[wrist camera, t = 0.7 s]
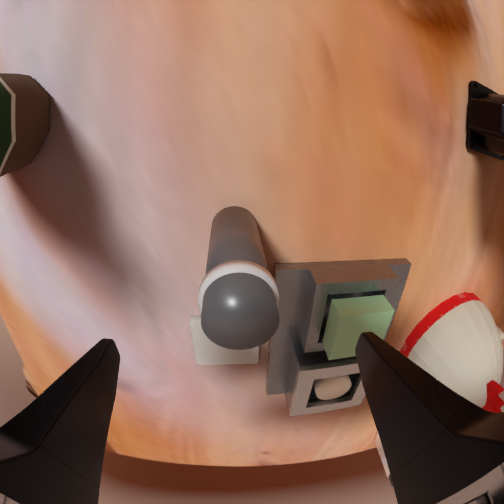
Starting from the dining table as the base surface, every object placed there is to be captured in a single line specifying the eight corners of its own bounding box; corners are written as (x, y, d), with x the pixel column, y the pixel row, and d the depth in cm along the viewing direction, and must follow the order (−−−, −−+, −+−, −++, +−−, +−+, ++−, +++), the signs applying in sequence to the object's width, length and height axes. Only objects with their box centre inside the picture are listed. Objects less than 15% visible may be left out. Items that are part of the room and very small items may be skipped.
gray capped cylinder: (260, 203, 19) (288, 284, 11) (259, 249, 21) (280, 350, 12) (207, 204, 19) (191, 288, 10) (210, 251, 21) (200, 353, 12)
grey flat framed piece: (405, 258, 23) (430, 283, 19) (364, 374, 30) (375, 401, 26) (274, 263, 22) (283, 296, 18) (265, 387, 29) (270, 418, 25)
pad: (259, 314, 24) (260, 317, 24) (258, 360, 27) (258, 363, 26) (189, 316, 24) (189, 319, 23) (197, 361, 26) (197, 364, 26)
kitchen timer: (396, 385, 33) (435, 470, 20) (398, 324, 27) (464, 437, 13) (471, 344, 31) (517, 412, 18) (486, 275, 25) (560, 352, 12)
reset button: (351, 365, 25) (355, 375, 23) (342, 386, 26) (346, 396, 25) (316, 370, 24) (319, 381, 23) (310, 391, 26) (313, 402, 25)
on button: (383, 294, 20) (394, 310, 18) (369, 336, 22) (378, 352, 20) (331, 299, 20) (340, 317, 18) (322, 342, 22) (328, 360, 20)
